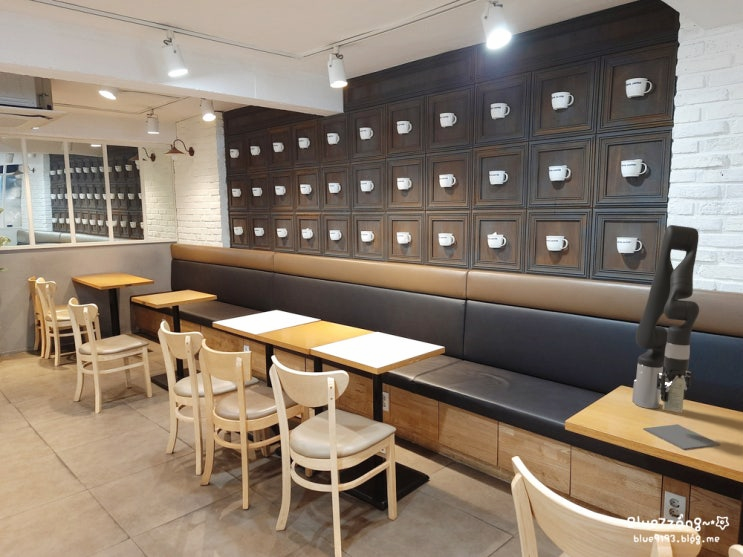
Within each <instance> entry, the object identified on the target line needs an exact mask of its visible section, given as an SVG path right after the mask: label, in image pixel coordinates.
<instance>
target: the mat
mask: <svg viewBox="0 0 743 557" xmlns="http://www.w3.org/2000/svg"><path fill="white" fill-rule="evenodd" d="M642 430H644V431H646V432H647V433H649V434H651V435H654V436H655V437H657V438H659V439H661V440H664V441H665V442H667V443H669V444H672V445H673V446H675V447H677V448H679V449H681V450H683V451H685V450H693V449H694V450H695V449H700V448H708V447H715V446H721V442H720V443H719V442H718V441H715V440H713V439H710V438H709V437H706V436H704V435H702V434H699V433H697V432H695V431H693V430H691V429H689V428H687V427H685V426H682V425H680V424H668V425H662V426H661V425H660V426H659V425H658V426H651V427H643V429H642Z"/></svg>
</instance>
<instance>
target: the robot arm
mask: <svg viewBox="0 0 743 557" xmlns="http://www.w3.org/2000/svg"><path fill="white" fill-rule="evenodd" d="M698 231H699V230H698V229H697V228H695V227H690V226H683V225H676V224H675V225H673V224H669V225H668V226H666V228H665V231H664V234H663V238H662V240H661V245H660V246H661V247H660V252H659V256H658V257H659V258H658V262H657V266H656V270H655V273H654V275H653V279H652V281H651V286H650V290H649V294H648V297H647V300H646V305H645V308H644V311H643V314H642V316H641V320H640V321H639V324H638V327H637V329H636V332H635V342H636V345H637V347H638V348H640V349H642V350H643V349H644V350H647V351H646V352H644V353H643V354H640V355H639V356H638V358H637V364H636V365H637V368H636V375H635V376H636V377H635V379H634V380H633V386H632V387H633V388H632V391H633V392H632V399H631V402H633V403H634V404H635V405H636V406H639V407H641V408H645V409H653V410H654V409H658V408H660V402H661V401H662V402H663V401H664V402H668V393H669V392H668V391H669V389H670V387H672V386H673V385H674V383H675V381H676V380H677V379H678V377H680V378H685V381H684V396H683V401H684V400H685V399H686V392H687V390H688V389H691V388H692V383H693V382H692V381H693V375H694V373H693V372H692V371H689V370H688V369H689V364H690V362H689V361H690V354H691V352H690V351H691V348H690V343H691V336H692V335H691V334H692V331H693V328H694V324H695V322H696V321H697V318H698V316H699V313H700V307H699V304H698V303H697V302H696V301H693V300H686V299H688V298H691V297H692V296H693V292H694V277H693V276H694V269H695V263H696V259H697V252H698V246H699V237H700V236H699V232H698ZM672 250H673V251H680V252H685V256H684V258H683V259H682V260H681V261H680V262H679V264H678V265H677V266H676V267H675V268H674V266H673V263H672V261H671V260H672V258H671V253H672ZM684 299H685V300H684ZM663 314H664V316H665V317H666V318H667V319H668V320H675V321H683V322H684V323H683V324H680V325H673V326H669V327H668V328H667V329H666V328H665V327H663V326H660V325H659V326H657V324H658V322H659V320H660V319H661V317H662V316H663ZM664 369H665V371H663V370H664ZM666 377H668V380H669V381H670V383H667V382H665V379H666ZM665 385H667V387H666V388H665ZM660 400H661V401H660Z"/></svg>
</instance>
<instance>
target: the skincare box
mask: <svg viewBox="0 0 743 557" xmlns="http://www.w3.org/2000/svg"><path fill="white" fill-rule="evenodd" d="M684 381H685V378H680V377H678V379H677V380H676V381H675V383H674V385H673V386H672V387H670V389H669V391H668V392H669V393H668V402H664V401H662V410H665V411H672V412H677V413H683V408H684V400H683V396H684ZM665 382H667V383H670V381H669V380H668V377H666V379H665ZM666 387H667V385H665V388H666Z"/></svg>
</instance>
